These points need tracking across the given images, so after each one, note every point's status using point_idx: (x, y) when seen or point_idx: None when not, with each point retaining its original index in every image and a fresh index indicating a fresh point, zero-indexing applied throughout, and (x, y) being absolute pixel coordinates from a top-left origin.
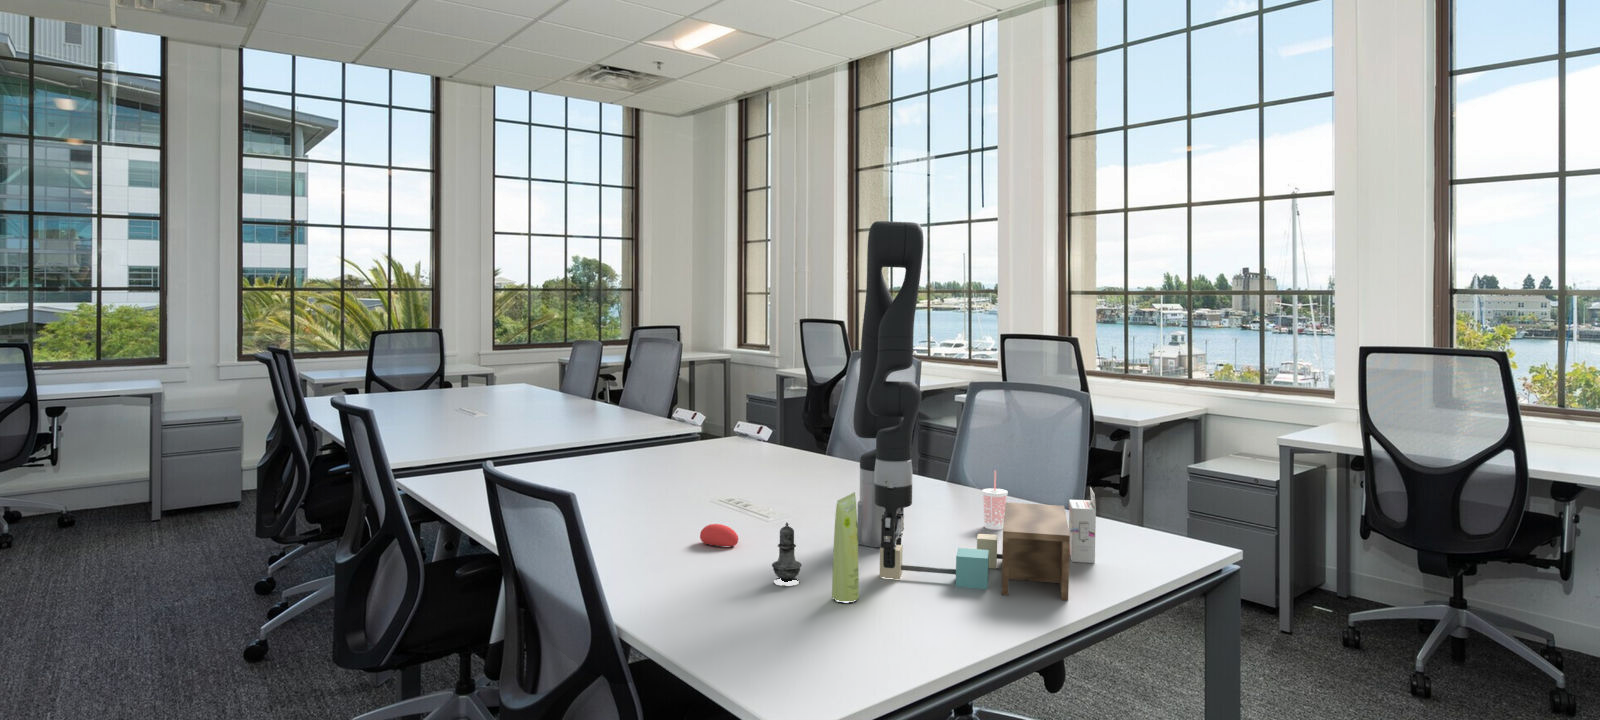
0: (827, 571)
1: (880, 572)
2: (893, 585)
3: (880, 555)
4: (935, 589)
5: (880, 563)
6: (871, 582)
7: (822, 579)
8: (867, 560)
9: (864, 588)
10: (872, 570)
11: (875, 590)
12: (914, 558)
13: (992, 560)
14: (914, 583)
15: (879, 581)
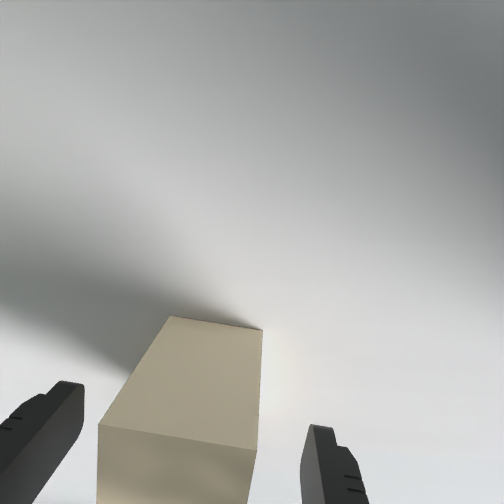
0: (257, 28)
1: (158, 334)
2: (91, 368)
3: (120, 393)
4: (82, 501)
5: (141, 361)
6: (110, 279)
7: (101, 9)
8: (478, 260)
9: (17, 248)
10: (297, 285)
11: (5, 295)
12: (496, 470)
13: None
14: None
15: (132, 314)
